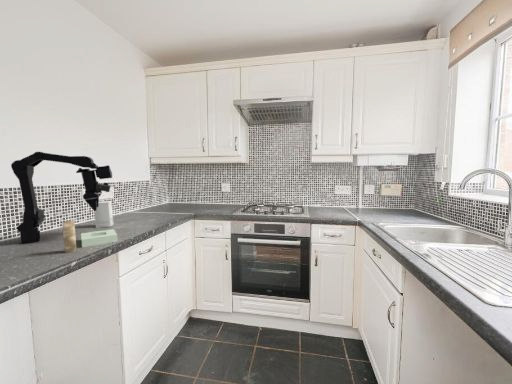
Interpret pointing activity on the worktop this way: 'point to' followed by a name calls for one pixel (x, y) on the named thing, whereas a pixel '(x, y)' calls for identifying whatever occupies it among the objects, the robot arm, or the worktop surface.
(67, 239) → the beech peg
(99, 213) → the skincare box
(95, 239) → the hole block
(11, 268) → the worktop surface
